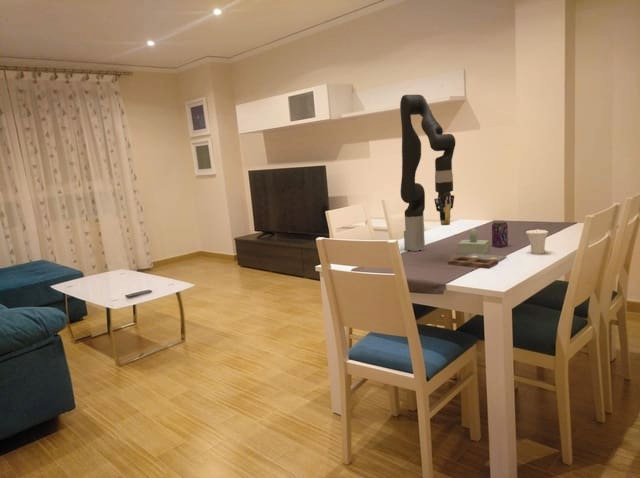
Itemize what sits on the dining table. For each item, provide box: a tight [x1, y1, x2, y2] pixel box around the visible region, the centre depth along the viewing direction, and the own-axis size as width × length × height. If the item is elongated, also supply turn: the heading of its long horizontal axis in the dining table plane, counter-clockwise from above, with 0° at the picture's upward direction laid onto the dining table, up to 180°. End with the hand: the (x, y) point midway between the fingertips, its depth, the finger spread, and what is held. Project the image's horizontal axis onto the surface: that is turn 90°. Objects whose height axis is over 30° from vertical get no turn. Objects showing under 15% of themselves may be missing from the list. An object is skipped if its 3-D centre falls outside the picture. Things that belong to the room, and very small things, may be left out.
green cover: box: [457, 228, 490, 255], centre depth 217 cm, size 12×9×11 cm
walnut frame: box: [447, 255, 499, 269], centre depth 195 cm, size 18×9×2 cm, turn 47°
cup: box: [525, 228, 549, 255], centre depth 205 cm, size 9×9×10 cm
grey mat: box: [464, 253, 508, 263], centre depth 203 cm, size 16×11×1 cm
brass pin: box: [440, 204, 451, 226], centre depth 203 cm, size 4×4×9 cm
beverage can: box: [491, 220, 509, 248], centre depth 224 cm, size 7×7×12 cm
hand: (445, 219), depth 204 cm, fingers closed on brass pin, 4 cm apart
